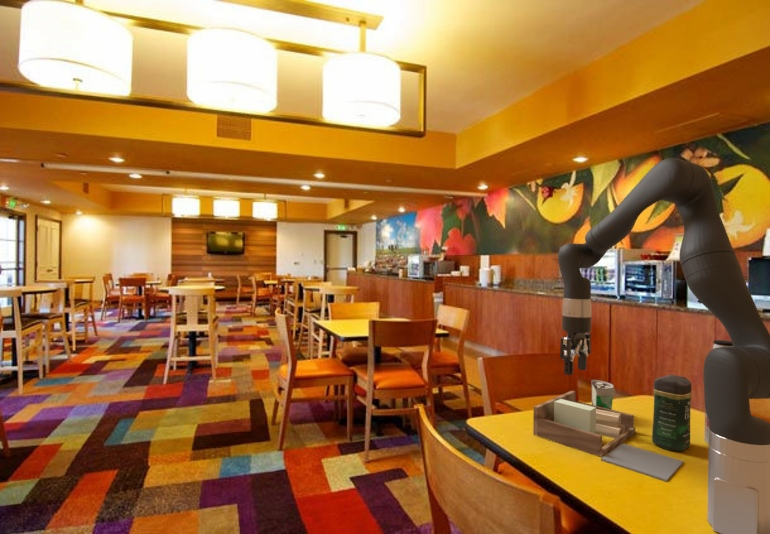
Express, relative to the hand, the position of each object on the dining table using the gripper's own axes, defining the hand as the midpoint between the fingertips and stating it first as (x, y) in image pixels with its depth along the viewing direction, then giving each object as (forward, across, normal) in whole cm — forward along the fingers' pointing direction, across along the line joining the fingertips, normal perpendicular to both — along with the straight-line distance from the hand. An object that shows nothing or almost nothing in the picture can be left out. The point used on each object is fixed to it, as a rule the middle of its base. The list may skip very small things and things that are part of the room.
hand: (575, 372), depth 121 cm
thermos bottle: (+18, +26, -29) cm, 43 cm away
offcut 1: (+15, +10, -5) cm, 19 cm away
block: (+18, 0, 0) cm, 18 cm away
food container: (+18, +24, +1) cm, 30 cm away
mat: (+18, -3, -18) cm, 26 cm away
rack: (+18, +4, -1) cm, 18 cm away
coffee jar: (+18, +14, -20) cm, 30 cm away
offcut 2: (+18, +9, -5) cm, 21 cm away
